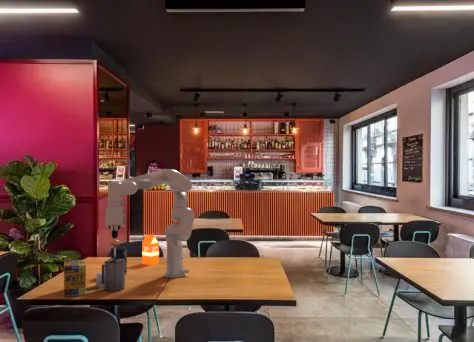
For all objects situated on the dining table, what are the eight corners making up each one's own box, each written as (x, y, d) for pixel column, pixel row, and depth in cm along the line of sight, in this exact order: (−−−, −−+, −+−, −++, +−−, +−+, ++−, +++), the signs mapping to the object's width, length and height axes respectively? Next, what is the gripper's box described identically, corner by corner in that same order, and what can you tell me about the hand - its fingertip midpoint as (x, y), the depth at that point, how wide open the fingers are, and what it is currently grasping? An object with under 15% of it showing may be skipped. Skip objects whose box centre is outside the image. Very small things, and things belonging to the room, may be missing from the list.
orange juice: (150, 261, 283) (150, 233, 283) (159, 263, 278) (159, 234, 278) (141, 263, 277) (142, 235, 277) (150, 265, 272) (150, 236, 272)
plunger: (123, 263, 218) (123, 239, 218) (119, 266, 211) (119, 241, 211) (110, 263, 219) (110, 239, 219) (105, 266, 211) (105, 241, 212)
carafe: (126, 286, 219) (127, 258, 220) (120, 291, 209) (120, 262, 210) (105, 286, 220) (105, 258, 220) (98, 291, 210) (98, 262, 210)
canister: (122, 276, 240) (122, 247, 241) (107, 276, 242) (108, 246, 243) (129, 273, 250) (129, 244, 250) (115, 272, 252) (115, 244, 252)
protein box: (63, 297, 200) (63, 266, 200) (63, 289, 214) (63, 260, 214) (85, 295, 204) (86, 265, 204) (84, 287, 218) (84, 259, 218)
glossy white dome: (111, 284, 224) (111, 271, 225) (106, 287, 217) (106, 274, 218) (99, 284, 225) (99, 271, 225) (94, 287, 218) (94, 274, 218)
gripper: (130, 203, 219) (130, 237, 218) (104, 203, 219) (104, 236, 219) (126, 204, 211) (126, 239, 211) (98, 204, 212) (98, 239, 212)
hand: (114, 238), depth 215 cm, fingers closed
